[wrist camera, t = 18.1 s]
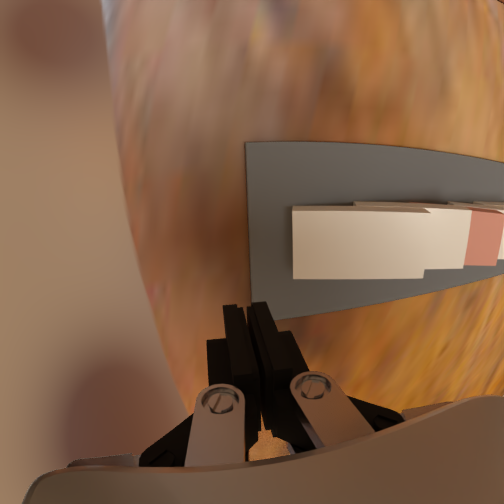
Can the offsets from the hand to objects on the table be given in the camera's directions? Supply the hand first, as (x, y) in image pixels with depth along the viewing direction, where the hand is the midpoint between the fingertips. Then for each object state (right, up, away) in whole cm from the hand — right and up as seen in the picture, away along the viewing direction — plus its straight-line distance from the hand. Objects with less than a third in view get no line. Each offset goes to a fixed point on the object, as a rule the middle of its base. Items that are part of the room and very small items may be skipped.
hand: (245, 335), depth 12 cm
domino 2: (+8, +5, +11) cm, 14 cm away
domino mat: (+17, +6, +13) cm, 22 cm away
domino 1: (+3, +4, +10) cm, 11 cm away
